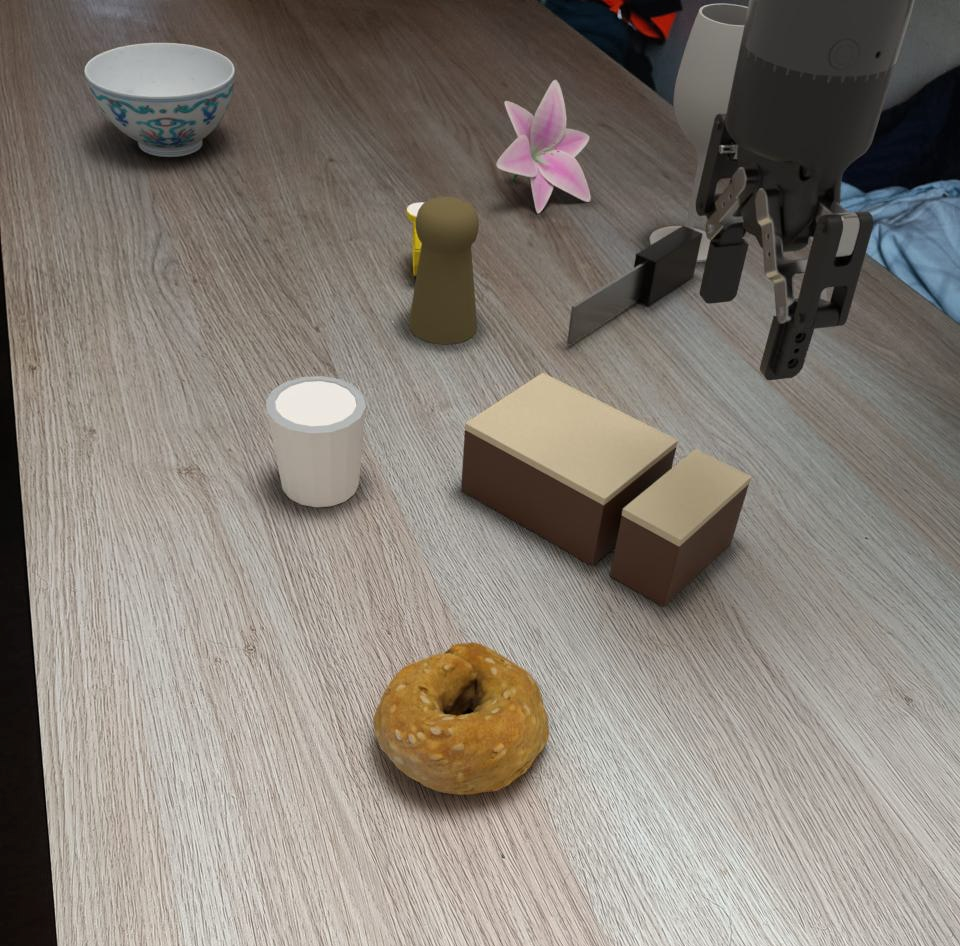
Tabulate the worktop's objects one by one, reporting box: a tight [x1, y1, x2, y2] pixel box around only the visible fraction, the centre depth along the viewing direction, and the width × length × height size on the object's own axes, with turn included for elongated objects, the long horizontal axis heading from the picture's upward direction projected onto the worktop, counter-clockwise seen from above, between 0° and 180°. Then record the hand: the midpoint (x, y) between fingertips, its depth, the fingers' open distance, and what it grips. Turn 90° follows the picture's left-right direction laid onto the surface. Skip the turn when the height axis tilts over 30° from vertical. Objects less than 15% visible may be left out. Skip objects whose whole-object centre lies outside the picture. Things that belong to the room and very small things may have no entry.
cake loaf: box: [460, 372, 679, 566], centre depth 79 cm, size 9×12×6 cm
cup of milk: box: [265, 375, 367, 508], centre depth 78 cm, size 7×7×7 cm
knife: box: [566, 225, 702, 345], centre depth 100 cm, size 19×2×4 cm, turn 141°
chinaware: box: [84, 42, 236, 158], centre depth 116 cm, size 15×15×8 cm
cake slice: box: [609, 448, 752, 607], centre depth 75 cm, size 9×4×6 cm, turn 141°
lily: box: [495, 79, 592, 214], centre depth 114 cm, size 12×12×10 cm
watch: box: [406, 201, 425, 278], centre depth 101 cm, size 6×3×6 cm, turn 4°
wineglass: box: [648, 3, 748, 264], centre depth 103 cm, size 8×8×21 cm
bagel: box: [372, 642, 550, 796], centre depth 64 cm, size 10×11×5 cm
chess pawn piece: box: [408, 196, 480, 345], centre depth 93 cm, size 6×6×11 cm
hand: (745, 335), depth 65 cm, fingers open, 8 cm apart
